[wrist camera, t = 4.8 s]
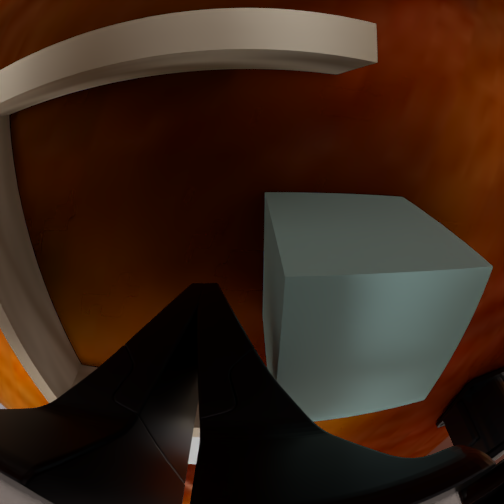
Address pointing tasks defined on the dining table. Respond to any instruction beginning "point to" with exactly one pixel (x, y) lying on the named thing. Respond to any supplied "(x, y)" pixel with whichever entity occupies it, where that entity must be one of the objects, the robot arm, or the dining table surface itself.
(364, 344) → the cube
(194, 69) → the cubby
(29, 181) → the dining table surface
